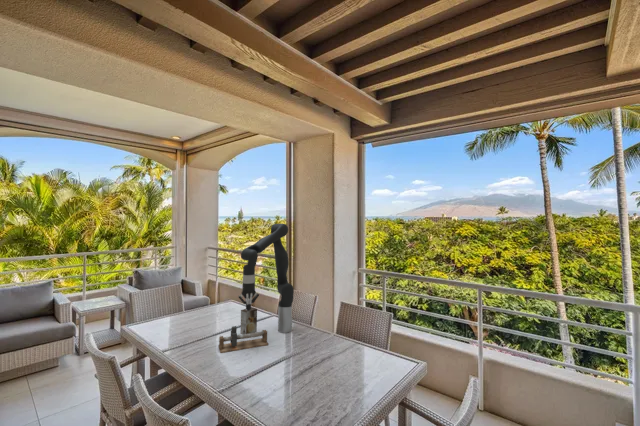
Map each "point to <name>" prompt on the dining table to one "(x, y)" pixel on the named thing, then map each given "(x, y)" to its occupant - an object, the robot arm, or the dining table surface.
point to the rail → (243, 342)
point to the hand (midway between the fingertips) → (248, 310)
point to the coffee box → (248, 321)
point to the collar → (234, 336)
